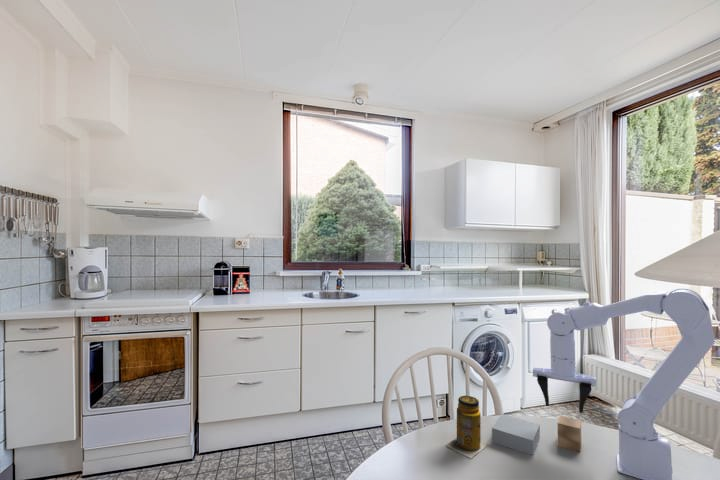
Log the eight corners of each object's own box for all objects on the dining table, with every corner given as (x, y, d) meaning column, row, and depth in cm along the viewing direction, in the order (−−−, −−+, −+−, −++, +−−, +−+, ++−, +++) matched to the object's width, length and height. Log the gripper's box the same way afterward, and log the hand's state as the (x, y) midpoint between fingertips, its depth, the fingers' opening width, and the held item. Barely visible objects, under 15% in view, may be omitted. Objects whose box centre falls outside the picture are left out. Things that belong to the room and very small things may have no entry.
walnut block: (581, 443, 91) (581, 420, 91) (580, 452, 87) (579, 428, 87) (559, 437, 94) (559, 415, 94) (557, 445, 90) (557, 422, 90)
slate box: (539, 438, 94) (539, 424, 94) (533, 456, 86) (533, 440, 86) (501, 427, 100) (501, 413, 100) (492, 443, 91) (492, 428, 92)
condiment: (487, 445, 90) (486, 399, 90) (471, 459, 84) (471, 409, 84) (462, 434, 95) (461, 391, 95) (445, 446, 89) (445, 400, 89)
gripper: (593, 356, 91) (595, 408, 91) (533, 349, 99) (534, 396, 98) (596, 364, 85) (597, 419, 85) (531, 355, 93) (532, 406, 92)
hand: (563, 407), depth 91 cm, fingers open, 7 cm apart
